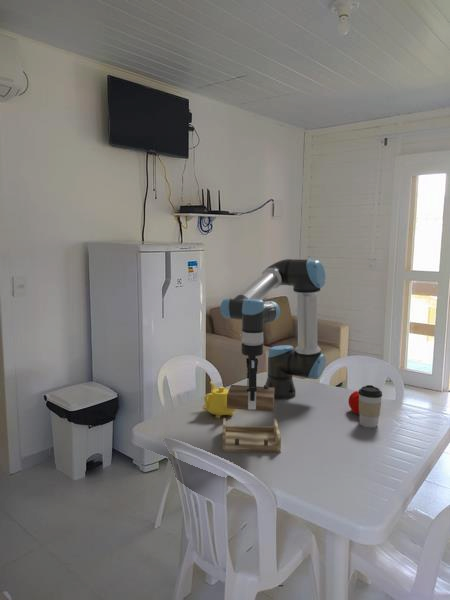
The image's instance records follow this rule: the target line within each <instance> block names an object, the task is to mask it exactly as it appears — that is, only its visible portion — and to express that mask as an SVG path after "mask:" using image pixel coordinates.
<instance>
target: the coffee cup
mask: <svg viewBox="0 0 450 600" xmlns="http://www.w3.org/2000/svg"><path fill="white" fill-rule="evenodd" d="M358 391H359V392H358V393H359V415H358V416H359V425H360V426H362V425H363V426H362V427H365V426H366V428H376V426H377V427H378V425H379V418H380V414H381V409H382V408H381V407H382V397H383V391H381V389H380V388H379V387H376V386H373V385H371V384H370V385H365V386H361V388H359V389H358Z"/></svg>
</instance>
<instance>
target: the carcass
mask: <svg viewBox="0 0 450 600" xmlns="http://www.w3.org/2000/svg"><path fill="white" fill-rule="evenodd" d="M222 422H223V423H222V438H221V439H222V440H221V441H222V442H221V445H222V448H221V450H222V452H223V453H224V452H226V453H227V452H228V453H229V452H230V453H274V454H275V453H277V454H279V453H281V450H282V449H281V447H282V437H281V433H280V429H279V425H278V424H279V423H278V420H277V419H276V418H273V426H265V425H262V426H259V425H258V426H257V425H256V426H255V425H252V426H251V425H249V426H248V425H227V418H225V417H223V419H222Z"/></svg>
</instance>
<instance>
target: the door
mask: <svg viewBox="0 0 450 600" xmlns="http://www.w3.org/2000/svg"><path fill="white" fill-rule="evenodd" d="M251 388H255V387H251ZM228 389H229V391H228V393H227V409H236V410H242V411H243V410H245V411H254V410H253V409H248V392H247V389H249V386H247V385H242V384H241V385H238V384H231V385H230V386H229V388H228ZM256 389H257V391H256V410H255V411H257V412H274V405H275V399H274V391H275V387H268V385H265V384H264V385H263V386H258V385H256Z"/></svg>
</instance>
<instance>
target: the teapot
mask: <svg viewBox="0 0 450 600" xmlns="http://www.w3.org/2000/svg"><path fill="white" fill-rule="evenodd" d="M210 385H211V388H210V389H211V390H210V393H206V394H205V395H204V398H203V400H204V405H203V406H202V409H203V411H208V412H209V413H210V414H212V415H215V418H216V417H217V418H216V419H221V418H222V416H228V417H232V416H234V414H233V413H234V412H235V411H236V410H237V409H227V393H228V391H229V389H230V388H225V386H219V387H217V388H216V385H215V382H213V381H211V380H210ZM220 417H221V418H220Z"/></svg>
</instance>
